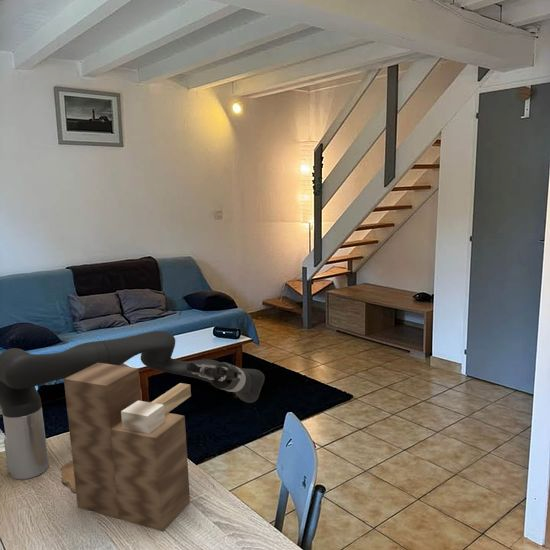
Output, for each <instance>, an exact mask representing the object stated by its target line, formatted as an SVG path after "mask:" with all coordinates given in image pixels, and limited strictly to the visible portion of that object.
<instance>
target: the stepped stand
mask: <svg viewBox="0 0 550 550" xmlns="http://www.w3.org/2000/svg"><path fill="white" fill-rule="evenodd" d="M63 384H64V391H65V392H64V393H65V403H66V411H67V420H68V429H69V430H68V431H69V432H68V433H69V440H70V450H71V458H72V461H73V468H74V478H75V487H76V493H75V494H76V503H77V508H78V509H82V510H86V511H90V512H94V513H97V514H99V515H104V516H107V517H111V518H114V519H118V520H121V521H125V522H128V523H132V524H136V525H139V526H142V527H145V528H149V529H153V530H156V531H160V532H164V531H165V530H166V529H168V527H169V526H170V525H171V523H173V522H174V520H176V519H177V517H178V516H179V515H180V514H181V513H182V512H183V511H184V510H185V509H186V508H187V506H189V504H190V503H191V495H190V494H191V493H190V479H189V477H190V476H189V464H188V447H187V432H186V429H187V428H186V417H185V415H183V414H182V415H181V414H177V413H170V412H168V413H167V414H166V415H165V422H164V423H163V424H161V425H160V426H159V427H157V428H156V429H155V430H153V431H152V432H151V433H149V434H148V433H143V432H138V431H133V430H128V429H123V428H122V418H121V411H122V410H124V409H126V408H127V407H129V406H130V405H132V404H133V403H135V402H137V401H138V400H139V401H142V395H141V384H140V369H139V368H138V367H131V366H124V365H120V366H119V365H112V364H105V363H96V364H94V365H92V366H90V367H88V368H86V369H83V370H81V371H79V372H77V373H75V374H73V375H71V376H69V377H67V378H65V379H63Z"/></svg>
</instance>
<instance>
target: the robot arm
mask: <svg viewBox="0 0 550 550" xmlns="http://www.w3.org/2000/svg"><path fill="white" fill-rule="evenodd" d="M175 347H176V337H175V336H174V335H173V334H172V333H171V332H168V331H163V330H154V331H153V330H152V331H147V332H145V333H140V334H136V335H135V334H134V335H132V336H125V337H120V338H115V339H106V340H104V339H103V340H97V341H96V340H95V341H88V342H84V343H83V342H82V343H80V344H77V345H75V346H72V347H69V348H68V349H66V350H63V351H58V352H55V353H54V352H53V353H43V354H42V353H41V354H40V353H39V354H34V353H29V352H28V351H26V350H24V349H21V348H15V347H12V348H8V349H6V350H4V351H2V352H1V353H0V408H1V411H2V418H3V419H2V420H3V425H4V434H5V435H4V436H5V438H4V440H3V443H4V445H3V446H4V451H5V452H4V453H5V460H6V467H7V473H8V474H10V476H11V478H13V479H15V480H28V479H33V478H35V477H39V475H40V476H41V475H42V474H43V473H45V472H46V471H47V470H48V468H49V456H48V448H47V447H48V446H47V440H46V432H45V423H44V415H43V407H42V400H41V396H40V394H39V392H38V390H37V386H40V385H44V384H48V383H51V382H55V381H59V380H64V379H65V378H67V377H69V376H71V375H73V374H75V373H77V372H79V371H81V370H83V369H86V368H88V367H90V366H92V365H94V364H96V363H105V364H112V365H119V366H123V365H124V363H126V362H127V361H129V360H131V359H132V358H134V357H135V356H137V355H140V361H141V363H142V364H143V365H144V366H145V367H148V368H149V369H152V370H155V371H159V372H165V373H169V374H175V375H177V376H178V375H180V376H185V377H189V378H195V379H198V380H202V381H205V382H208V383H210V384H211V385H213V386H214V387H215V388H216V389H219V390H223V391H226V392H229V393H231V392H232V393H234V394H235V395H236V396H237V398H239V399H240V400H241V401H243V402H244V403H249V404H251V403H255V402H256V401H257V400H258V399H259V396H260V393H261V391H262V387H263V386H264V383H265V379H266V378H265V377H266V376H265V374H264V373H263V372H262V371H261V370H259V369H256V368H242V367H238V366H236V365H233V364H231V363H229V362H225V361H221V362H220V361H217V360H215V359H210V358H209V359H208V358H207V359H198V360H191V361H190V360H188V361H184V360H183V361H182V360H178V359H175V358H172V356H173V354H174V350H175Z"/></svg>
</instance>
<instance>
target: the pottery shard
mask: <svg viewBox="0 0 550 550" xmlns="http://www.w3.org/2000/svg"><path fill="white" fill-rule="evenodd" d="M60 471H61V475H60V476H61V483H63V484H64V485H66V487H68V488H69V490H70V491H71V493H73V494H74V495H75V494H76V487H75V478H74V468H73V459H72V460H70V461H67V462H65V463H63V464H62V465H61V466H60Z"/></svg>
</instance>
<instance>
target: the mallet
mask: <svg viewBox="0 0 550 550" xmlns="http://www.w3.org/2000/svg"><path fill="white" fill-rule="evenodd" d="M191 391H192V390H191V384H188V383H183V382H180V383H178V384H176V385H175V386H173V387H171V388H170V389H169V390H167V391H165V393H163V394H161V395H159V396H158V397H157V398H155V399H154V400H152V401H145V400H144V401H143V400H141V401H139V400H138V401H137V402H135V403H133V404H132V405H130V406H129V407H127V408H126V409H124V410H122V411H121V418H122V428H123V429H128V430H133V431H138V432H143V433H148V434H149V433H151V432H152V431H153V430H155V429H156V428H157V427H159V426H160V425H161V424H163V423H164V422H165V415H166V414H167V413H170V412H171V411H172V410H174V409H175V408H177V407H178V406H179V405H181V404H182V403H184V402H185V401H187V400H188V399H189V398H190V397H192V392H191Z"/></svg>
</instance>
